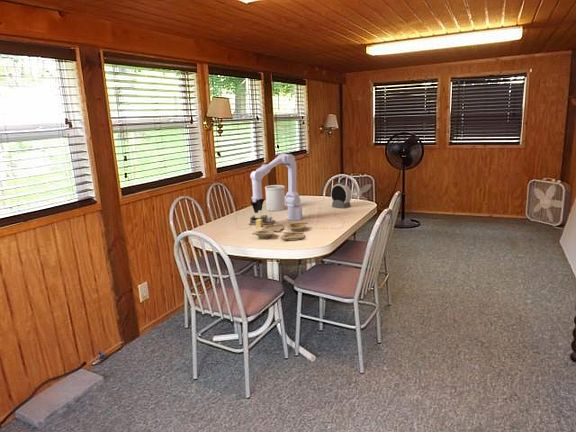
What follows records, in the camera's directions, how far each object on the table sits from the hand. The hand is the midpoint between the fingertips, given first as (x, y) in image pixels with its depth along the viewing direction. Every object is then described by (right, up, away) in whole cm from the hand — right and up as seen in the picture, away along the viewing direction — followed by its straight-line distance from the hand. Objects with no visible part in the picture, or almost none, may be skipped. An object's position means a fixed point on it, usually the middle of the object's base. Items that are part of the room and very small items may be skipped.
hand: (258, 211), depth 266 cm
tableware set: (+15, -14, -16) cm, 26 cm away
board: (+2, -8, +10) cm, 12 cm away
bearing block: (+3, -8, +9) cm, 13 cm away
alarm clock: (+59, +4, +50) cm, 77 cm away
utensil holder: (+10, +2, +52) cm, 53 cm away
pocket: (-1, -8, +10) cm, 13 cm away
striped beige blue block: (+5, -7, +8) cm, 12 cm away
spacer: (+1, -10, +2) cm, 10 cm away
